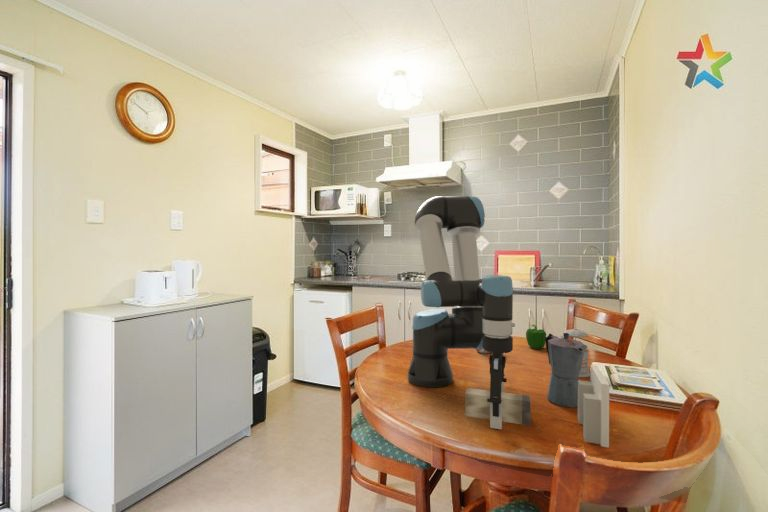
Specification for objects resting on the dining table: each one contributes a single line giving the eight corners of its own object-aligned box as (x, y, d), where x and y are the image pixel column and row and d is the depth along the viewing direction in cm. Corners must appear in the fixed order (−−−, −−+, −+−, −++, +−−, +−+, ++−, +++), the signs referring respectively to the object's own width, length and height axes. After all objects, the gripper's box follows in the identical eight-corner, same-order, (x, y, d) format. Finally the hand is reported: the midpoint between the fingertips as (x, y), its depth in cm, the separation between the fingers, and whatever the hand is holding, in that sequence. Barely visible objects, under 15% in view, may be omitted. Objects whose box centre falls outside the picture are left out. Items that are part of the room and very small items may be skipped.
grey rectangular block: (465, 415, 97) (465, 393, 96) (467, 409, 100) (467, 387, 100) (530, 425, 91) (530, 401, 91) (530, 418, 95) (530, 395, 95)
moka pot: (569, 414, 97) (569, 339, 96) (530, 392, 112) (530, 327, 111) (598, 409, 99) (598, 336, 99) (556, 389, 114) (556, 325, 114)
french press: (594, 378, 123) (594, 304, 123) (556, 374, 127) (556, 303, 126) (588, 369, 132) (588, 300, 132) (553, 366, 136) (553, 299, 136)
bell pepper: (548, 350, 157) (548, 327, 156) (527, 349, 158) (527, 326, 158) (544, 345, 165) (544, 323, 164) (524, 344, 167) (524, 323, 166)
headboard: (586, 443, 82) (586, 382, 82) (577, 416, 95) (577, 363, 95) (609, 447, 81) (609, 384, 80) (596, 419, 94) (596, 365, 93)
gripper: (511, 348, 82) (511, 442, 83) (513, 326, 105) (513, 399, 106) (477, 345, 85) (477, 436, 85) (486, 324, 108) (486, 396, 108)
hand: (497, 416), depth 96 cm, fingers open, 12 cm apart
